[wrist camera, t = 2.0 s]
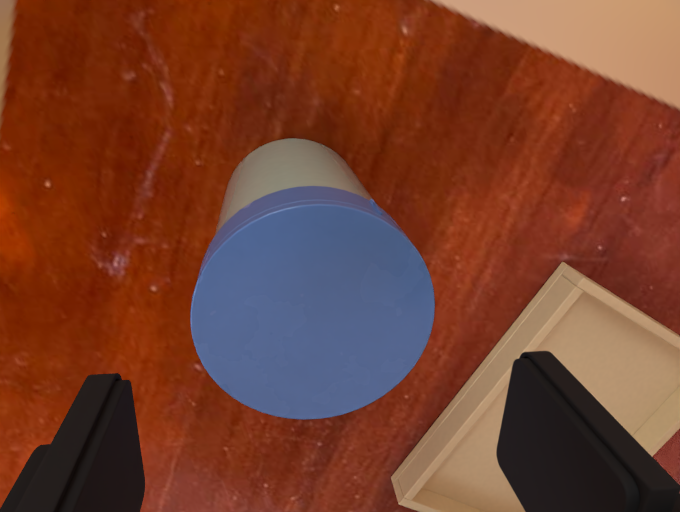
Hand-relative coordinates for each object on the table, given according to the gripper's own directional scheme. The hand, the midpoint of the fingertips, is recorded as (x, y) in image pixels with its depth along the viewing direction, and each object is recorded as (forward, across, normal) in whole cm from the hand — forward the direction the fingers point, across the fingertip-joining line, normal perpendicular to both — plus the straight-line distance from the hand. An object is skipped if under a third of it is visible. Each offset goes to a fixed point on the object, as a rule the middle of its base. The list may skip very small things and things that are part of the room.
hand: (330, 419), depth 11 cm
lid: (+4, 0, 0) cm, 4 cm away
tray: (+15, -16, +14) cm, 26 cm away
